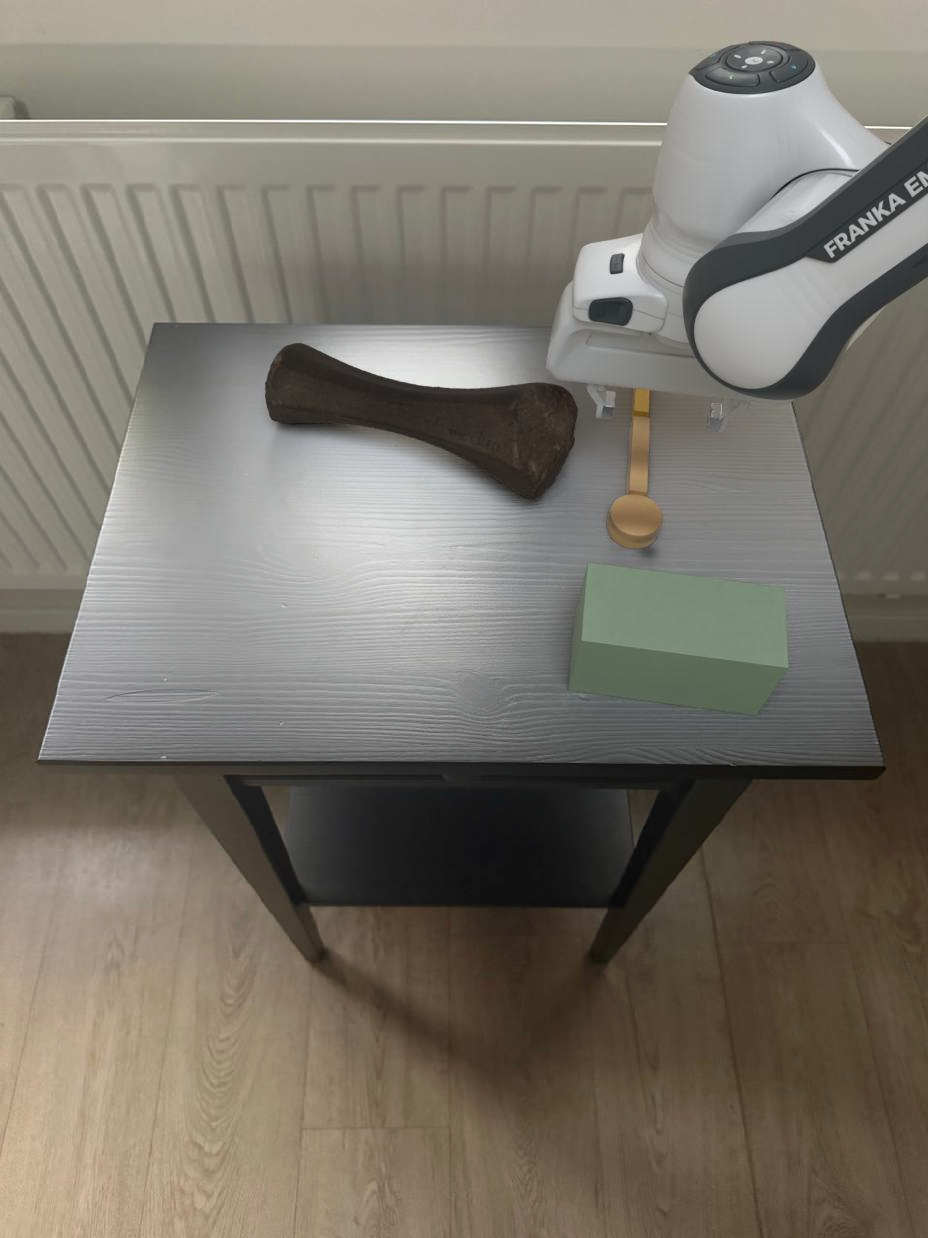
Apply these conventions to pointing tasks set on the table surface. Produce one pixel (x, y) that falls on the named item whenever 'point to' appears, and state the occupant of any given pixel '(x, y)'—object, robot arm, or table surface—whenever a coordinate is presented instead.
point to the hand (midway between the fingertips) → (659, 419)
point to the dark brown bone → (433, 414)
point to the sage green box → (678, 639)
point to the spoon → (635, 495)
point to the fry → (640, 403)
